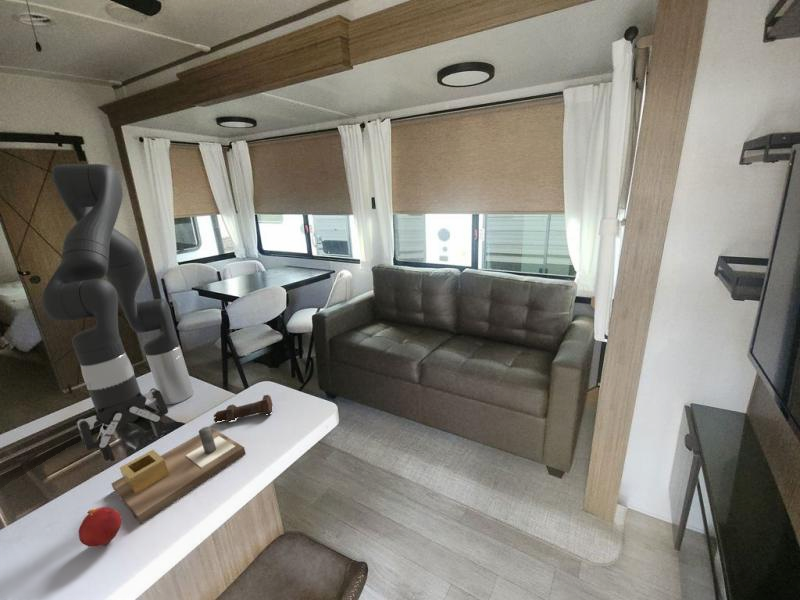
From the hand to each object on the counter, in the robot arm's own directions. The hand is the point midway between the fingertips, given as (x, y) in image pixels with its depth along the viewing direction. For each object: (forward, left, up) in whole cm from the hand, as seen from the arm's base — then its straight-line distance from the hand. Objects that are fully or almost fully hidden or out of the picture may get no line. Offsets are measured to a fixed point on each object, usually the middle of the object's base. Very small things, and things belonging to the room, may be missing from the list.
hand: (135, 447), depth 74 cm
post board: (+2, +6, -10) cm, 12 cm away
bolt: (-6, +26, -11) cm, 29 cm away
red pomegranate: (+9, -10, -11) cm, 17 cm away
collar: (0, 0, -8) cm, 8 cm away
